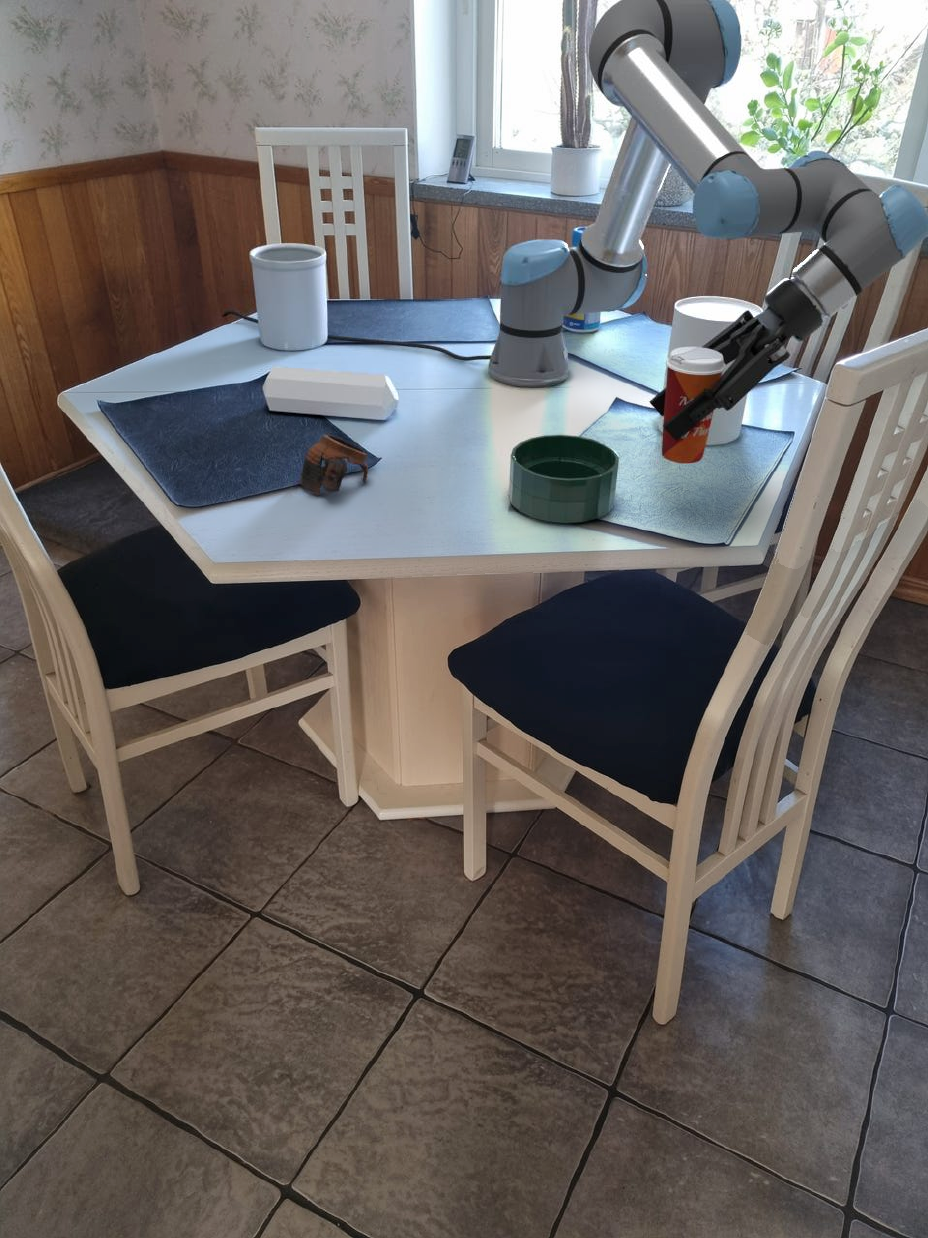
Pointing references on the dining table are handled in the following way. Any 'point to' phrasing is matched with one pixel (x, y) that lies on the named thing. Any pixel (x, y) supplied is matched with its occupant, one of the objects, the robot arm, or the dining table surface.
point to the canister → (696, 328)
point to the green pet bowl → (563, 478)
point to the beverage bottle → (587, 320)
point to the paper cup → (689, 398)
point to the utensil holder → (290, 295)
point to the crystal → (330, 393)
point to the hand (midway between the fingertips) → (662, 420)
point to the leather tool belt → (330, 464)
